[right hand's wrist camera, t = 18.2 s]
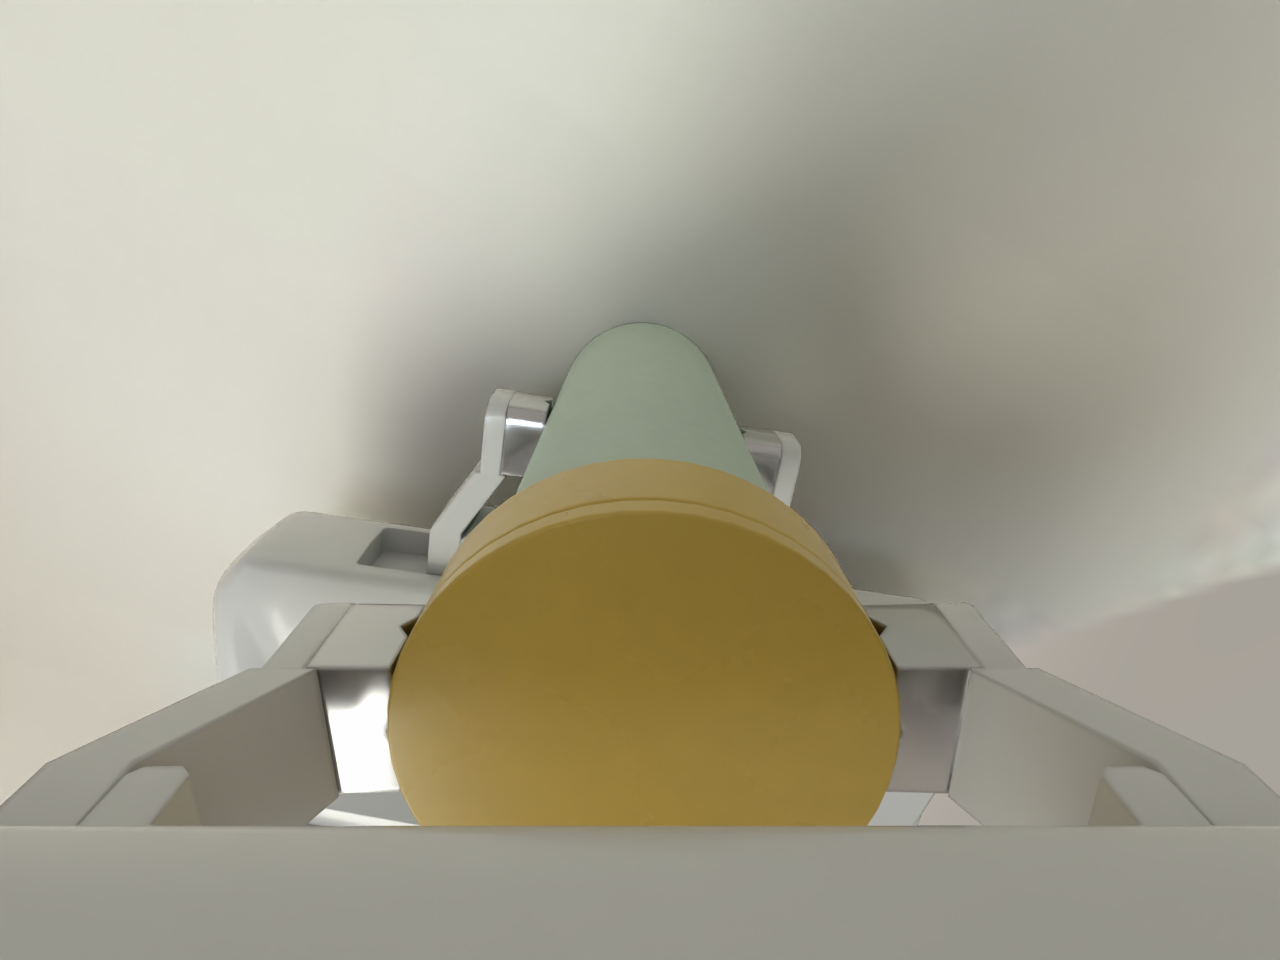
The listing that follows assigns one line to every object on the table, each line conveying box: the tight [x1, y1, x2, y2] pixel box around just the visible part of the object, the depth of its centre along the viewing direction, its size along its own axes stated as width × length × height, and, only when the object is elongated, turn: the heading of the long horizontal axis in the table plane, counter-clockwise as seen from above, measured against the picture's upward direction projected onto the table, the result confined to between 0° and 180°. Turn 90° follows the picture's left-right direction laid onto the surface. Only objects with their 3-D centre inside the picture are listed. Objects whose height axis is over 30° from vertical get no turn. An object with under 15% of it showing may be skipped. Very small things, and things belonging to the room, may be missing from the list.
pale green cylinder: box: [516, 323, 768, 494], centre depth 16 cm, size 5×5×16 cm
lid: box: [387, 458, 901, 826], centre depth 9 cm, size 6×6×2 cm
